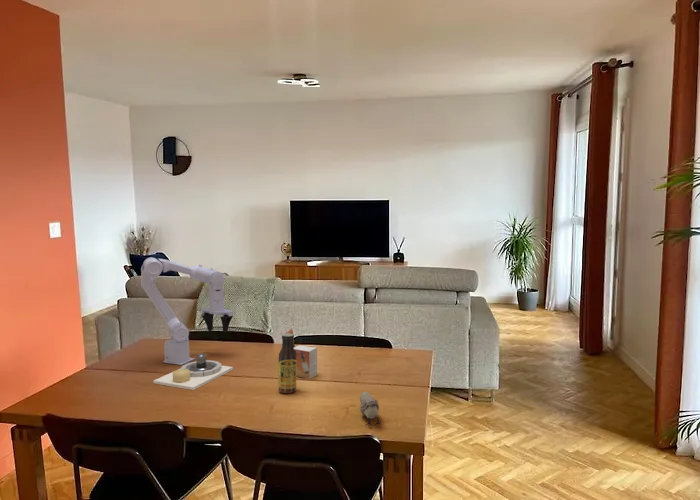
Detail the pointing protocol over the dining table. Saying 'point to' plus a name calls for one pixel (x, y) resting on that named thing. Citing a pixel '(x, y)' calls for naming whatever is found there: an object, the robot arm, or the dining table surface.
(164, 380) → the carrier plate
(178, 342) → the robot arm
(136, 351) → the dining table surface
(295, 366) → the sauce bottle
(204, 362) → the gear
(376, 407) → the decorative bird
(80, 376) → the dining table surface
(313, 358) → the small box
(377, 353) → the dining table surface
